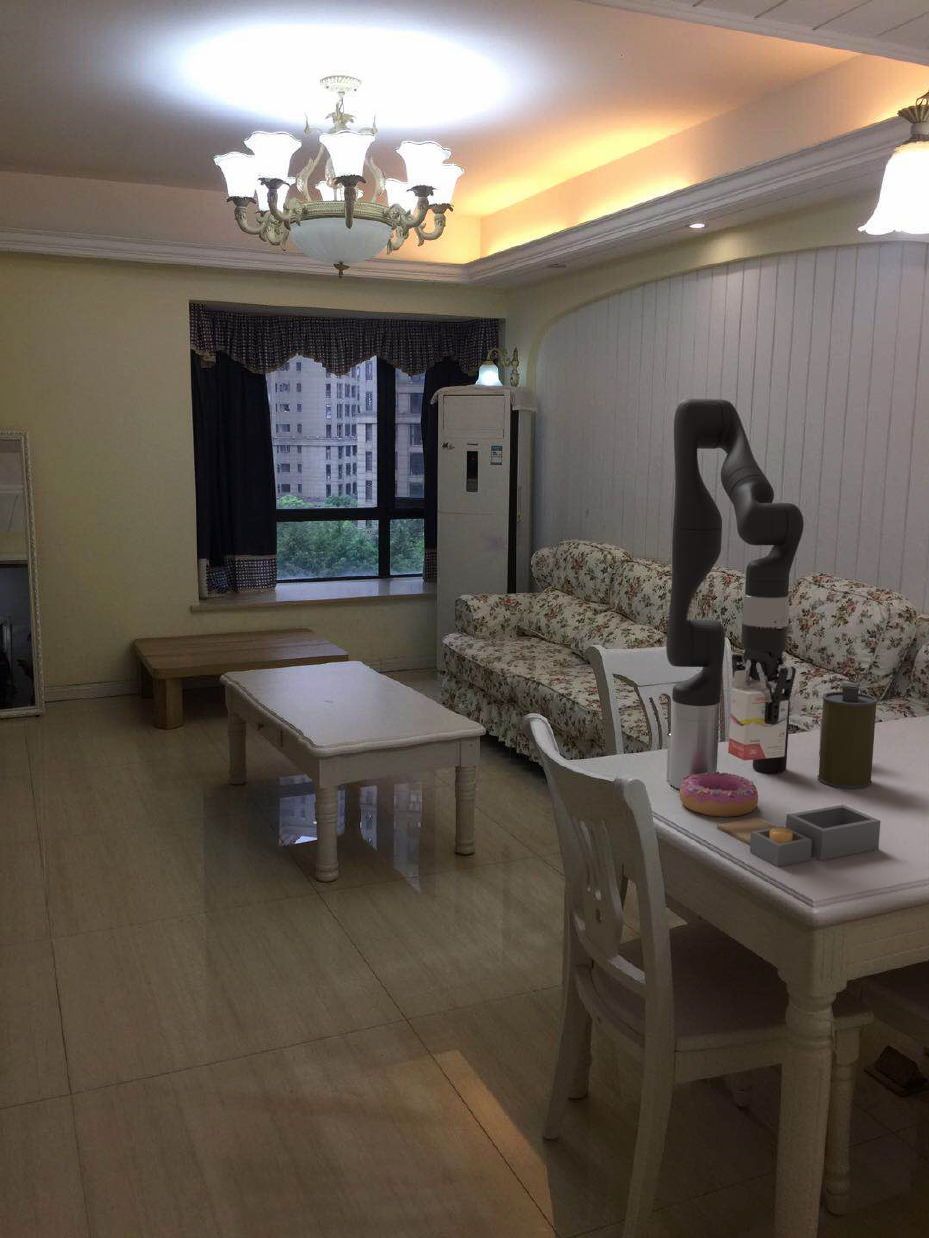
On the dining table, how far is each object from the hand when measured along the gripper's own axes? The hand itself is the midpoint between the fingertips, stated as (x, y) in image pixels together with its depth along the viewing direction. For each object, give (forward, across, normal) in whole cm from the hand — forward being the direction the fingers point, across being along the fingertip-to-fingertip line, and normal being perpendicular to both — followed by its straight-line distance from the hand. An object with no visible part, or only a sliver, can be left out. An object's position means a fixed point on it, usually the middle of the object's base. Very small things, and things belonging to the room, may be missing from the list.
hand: (759, 719), depth 177 cm
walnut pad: (+20, 0, 0) cm, 20 cm away
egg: (+20, +10, -3) cm, 23 cm away
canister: (+21, -16, +36) cm, 44 cm away
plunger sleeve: (+20, +10, -3) cm, 23 cm away
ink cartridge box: (+7, 0, 0) cm, 7 cm away
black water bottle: (+21, -28, +27) cm, 44 cm away
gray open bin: (+20, +10, +8) cm, 24 cm away
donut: (+21, -14, +3) cm, 25 cm away
